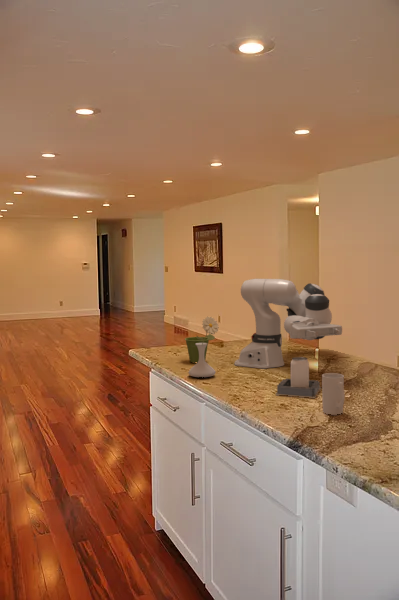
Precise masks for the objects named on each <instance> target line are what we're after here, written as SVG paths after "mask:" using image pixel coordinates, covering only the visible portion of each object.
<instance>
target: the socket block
mask: <svg viewBox="0 0 399 600" xmlns="http://www.w3.org/2000/svg"><path fill="white" fill-rule="evenodd" d="M320 384H321V383H320V381H319V380H314V379H313V380H312V379H309V388H302V387H291V378H285V379H282V380H281V381H280V383H278V384H277V386H276V388H277V391H276V392H275V394H276V395H275V396H279V395H288V396H287V397H292V396H299V397H298V398H304V397H309V398H308V399H316V398H317V396H316V395H318V394H319V393H318V392H320V391H321V390H322V386H321V385H320Z"/></svg>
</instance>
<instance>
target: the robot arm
mask: <svg viewBox="0 0 399 600" xmlns="http://www.w3.org/2000/svg"><path fill="white" fill-rule="evenodd" d="M240 295H241V298H242V299H243V300H244V302H246V303H247V304H248V305H249V306H250V308H251V309H252V312H253V315H254V319H255V332H254V333H252V334H251V338H250V340H252V341H251V342H249V344H247V345H246V346H244V347H243V348H242V349H241V350H240V352H239V357H238V359H236V360H235V361H234V365H235V366H237V367H246V368H256V369H257V368H258V369H270V368H278V367H283V366H285V361H284V358H283V353H282V345H283V336H282V333H281V332H282V331H281V322H282V319H281V317H280V315H279V314H278V313H277V312H276V311H274V310H273V309H271V307H270V304H273V305H275V306H283V307H288V308H285V309H286V312H287V317H286V318H285V320H284V321H283V328H284V330H285V333H287V334H289V338H290V339H295V340H296V339H299V340H307V341H315V340H320V339H324V338H325V337H328V336H331V337H332V336H340V335H341V336H342V333H343V326H342V325H341V324H340V325H339V324H335V323H334V324H333V323H332V324H331V322H332V319H333V315H332V312H331V310H330V299H329V298H328V297H327V295H325V291H324V290H323V288H322V287H321V286H320V285H317V284H316V283H307V284H305V286H304V287H303V289H302V290H301V291H300V293H299V291H298V289H297V288H296V285H295V283H294V282H293V281H292V280H288V279H283V278H251V279H246V280H244V281H243V283H242V284H241V287H240Z"/></svg>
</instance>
